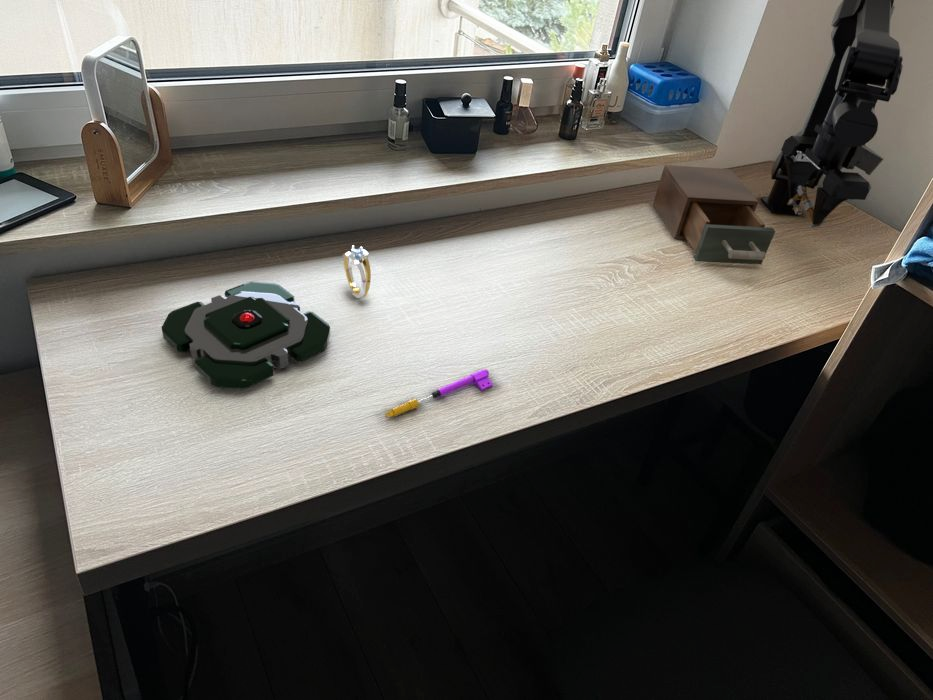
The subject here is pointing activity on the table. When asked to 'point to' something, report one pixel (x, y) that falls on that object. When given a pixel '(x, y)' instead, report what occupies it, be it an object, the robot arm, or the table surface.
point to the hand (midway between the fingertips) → (803, 212)
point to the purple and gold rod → (447, 391)
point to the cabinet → (696, 192)
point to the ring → (358, 258)
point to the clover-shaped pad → (246, 334)
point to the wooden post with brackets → (806, 202)
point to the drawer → (726, 233)
